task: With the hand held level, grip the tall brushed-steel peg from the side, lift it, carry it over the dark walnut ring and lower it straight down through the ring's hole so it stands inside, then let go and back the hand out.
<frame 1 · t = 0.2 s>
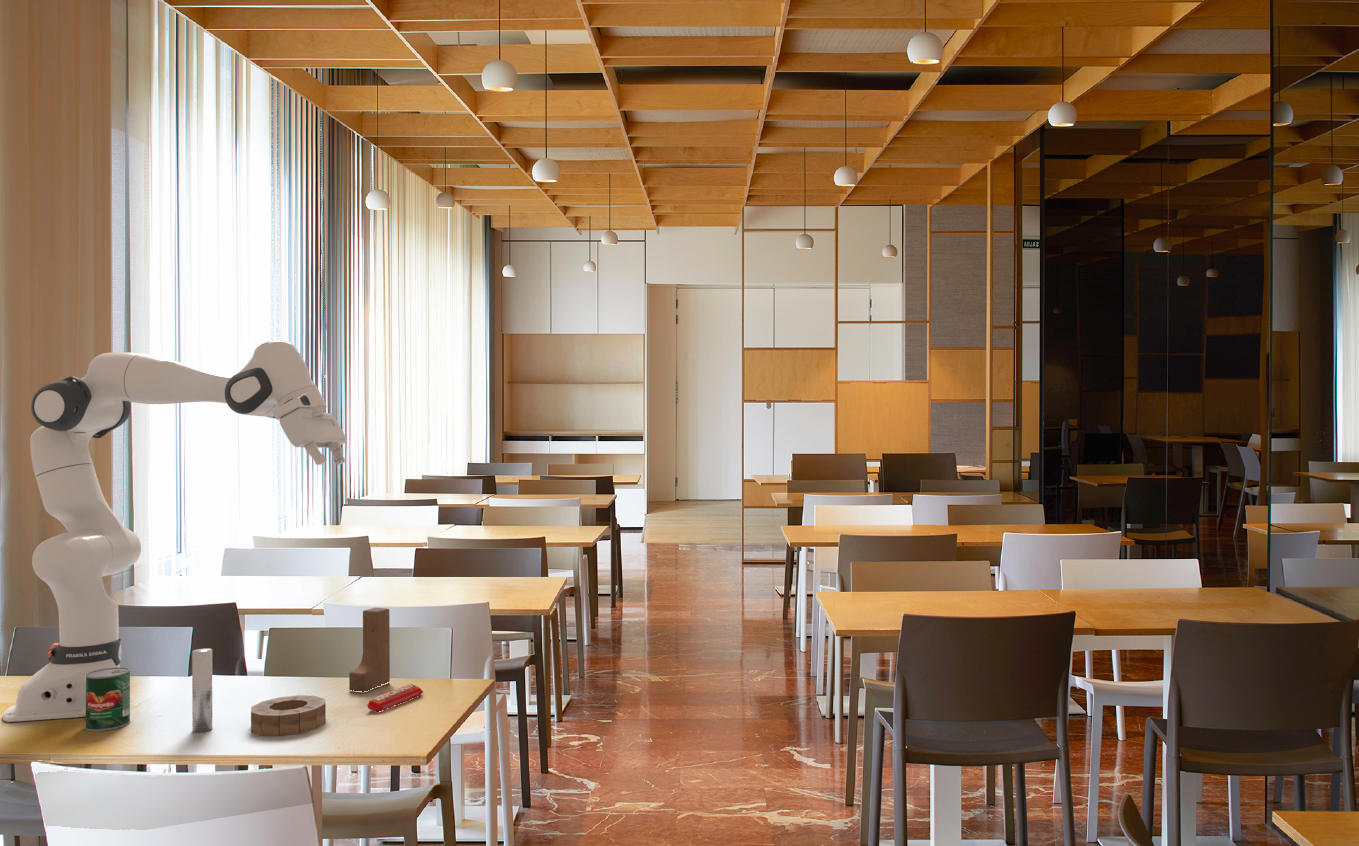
hand: (331, 463, 201), 53 cm above the table, tool tilted 25°, fingers open, 8 cm apart
wooden block: (369, 688, 217), on the table
candy bar: (395, 705, 204), on the table
walnut ring: (288, 724, 189), on the table
steel peg: (202, 729, 186), on the table
canned tomato: (108, 726, 190), on the table
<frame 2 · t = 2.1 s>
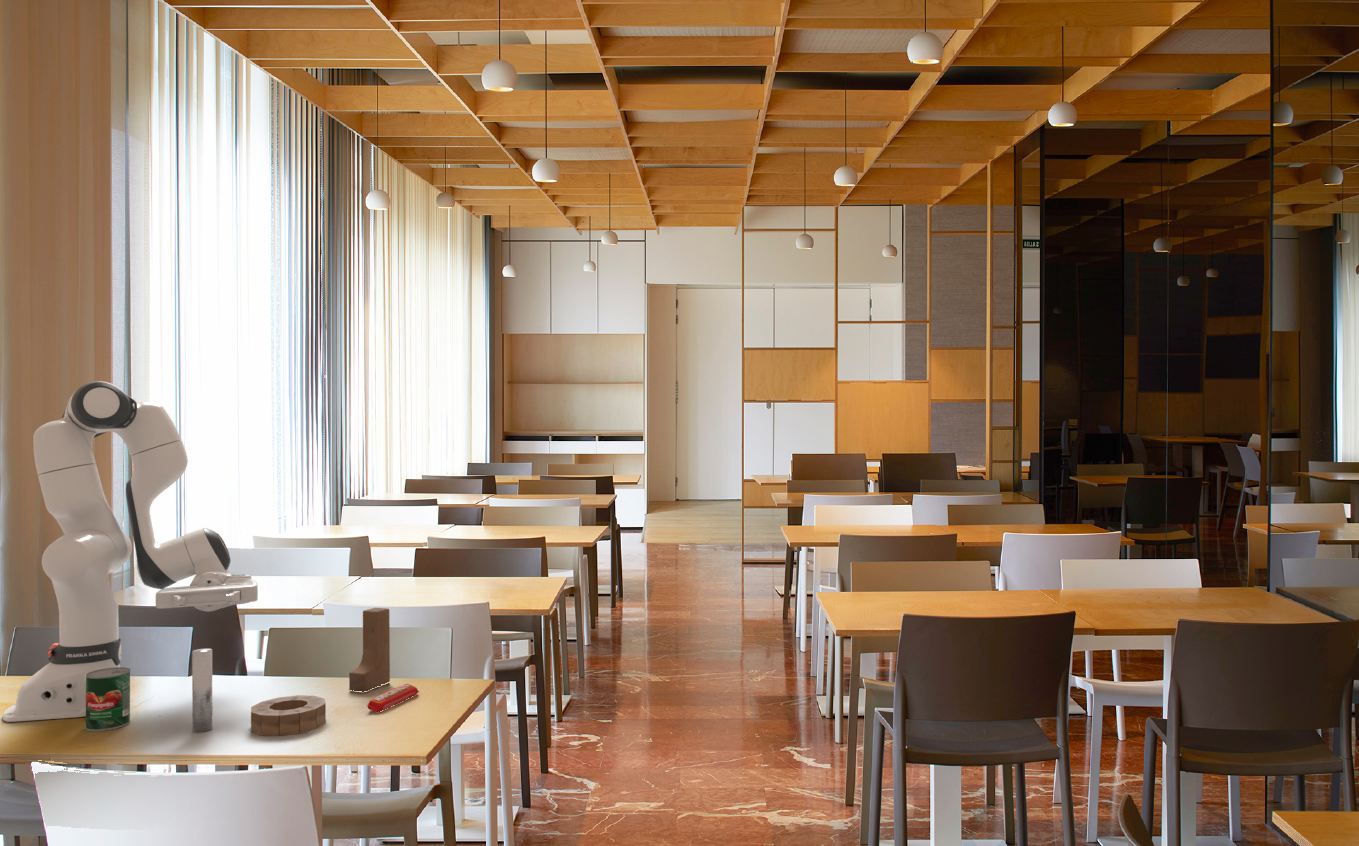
hand: (205, 600, 199), 24 cm above the table, tool horizontal, fingers open, 8 cm apart
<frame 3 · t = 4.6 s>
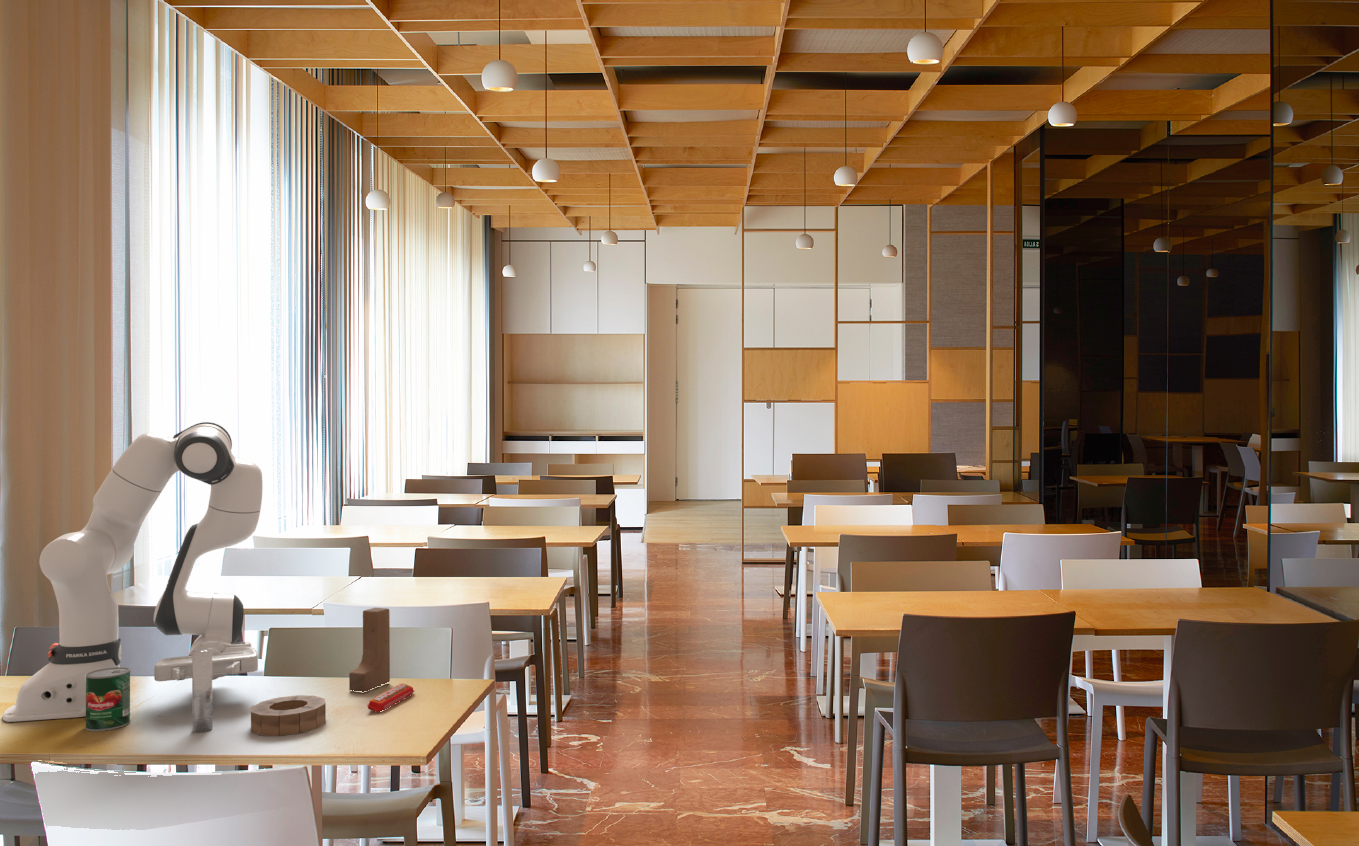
hand: (205, 673, 196), 9 cm above the table, tool horizontal, fingers open, 8 cm apart
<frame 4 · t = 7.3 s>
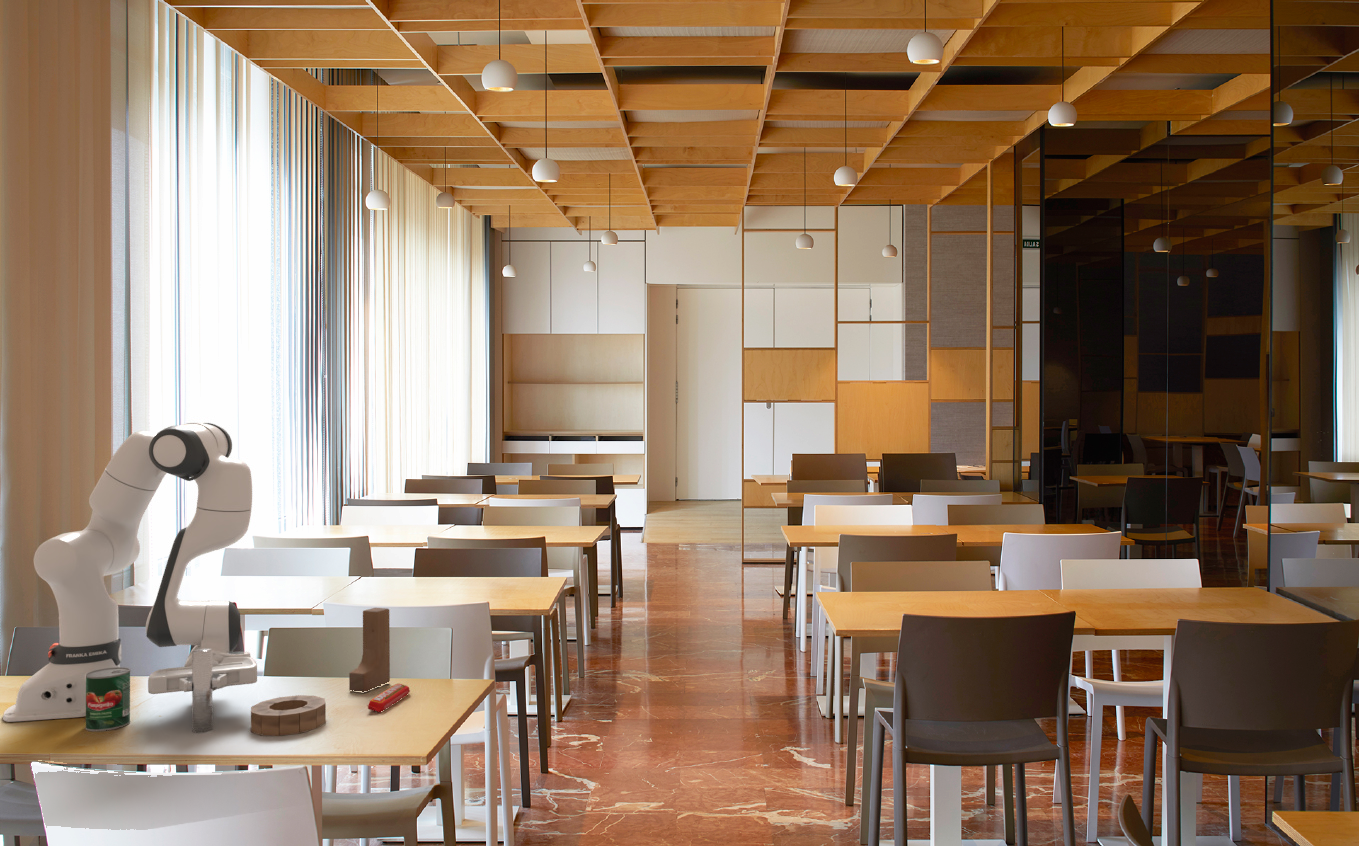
hand: (202, 686, 186), 9 cm above the table, tool horizontal, fingers closed on steel peg, 4 cm apart
steel peg: (202, 729, 186), on the table, touching gripper
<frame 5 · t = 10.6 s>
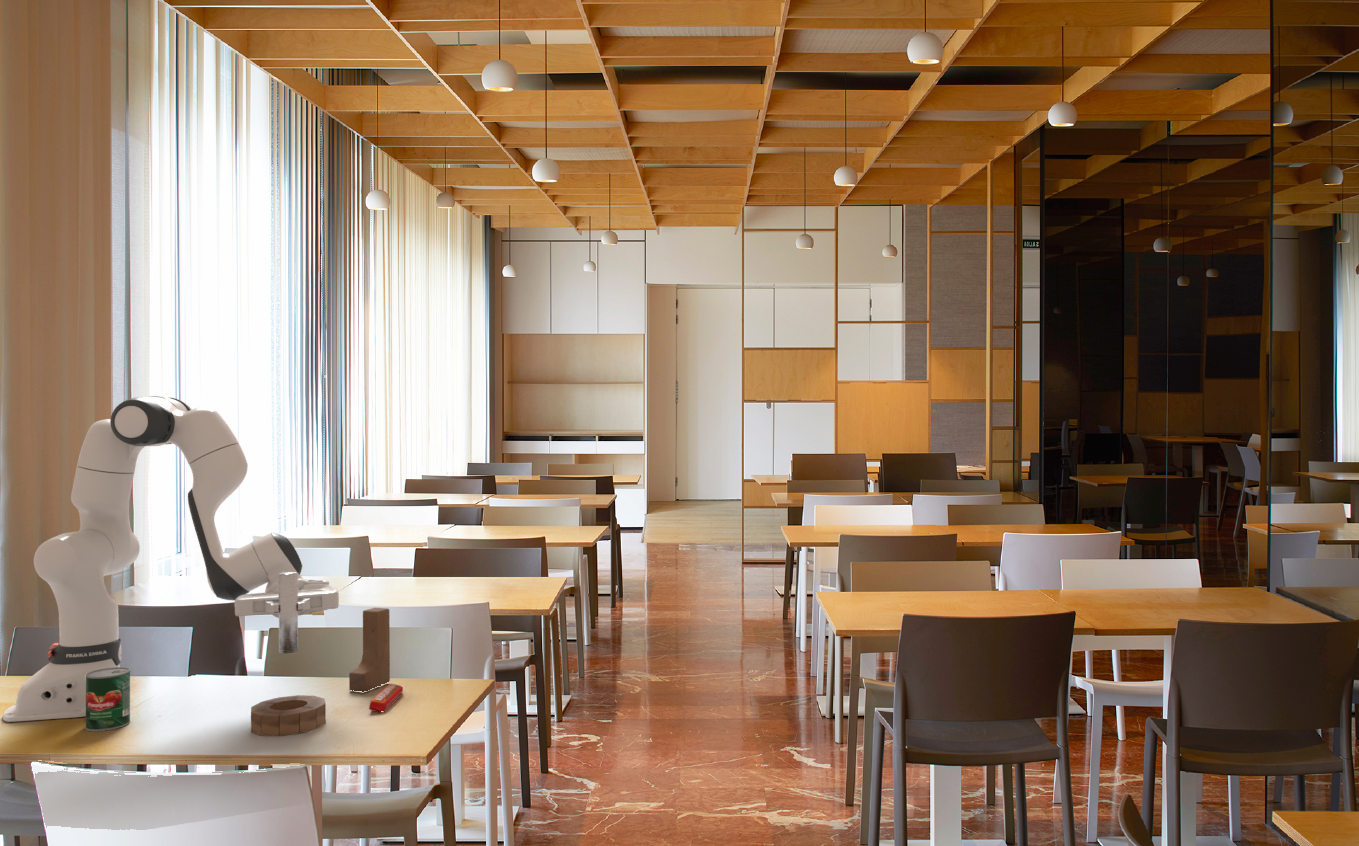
hand: (288, 608, 189), 24 cm above the table, tool horizontal, fingers closed on steel peg, 4 cm apart
steel peg: (288, 651, 189), point 15 cm above the table, touching gripper
when the fingers open (10 cm above the table, at t = 14.1 s): steel peg drops 1 cm, resting in walnut ring.
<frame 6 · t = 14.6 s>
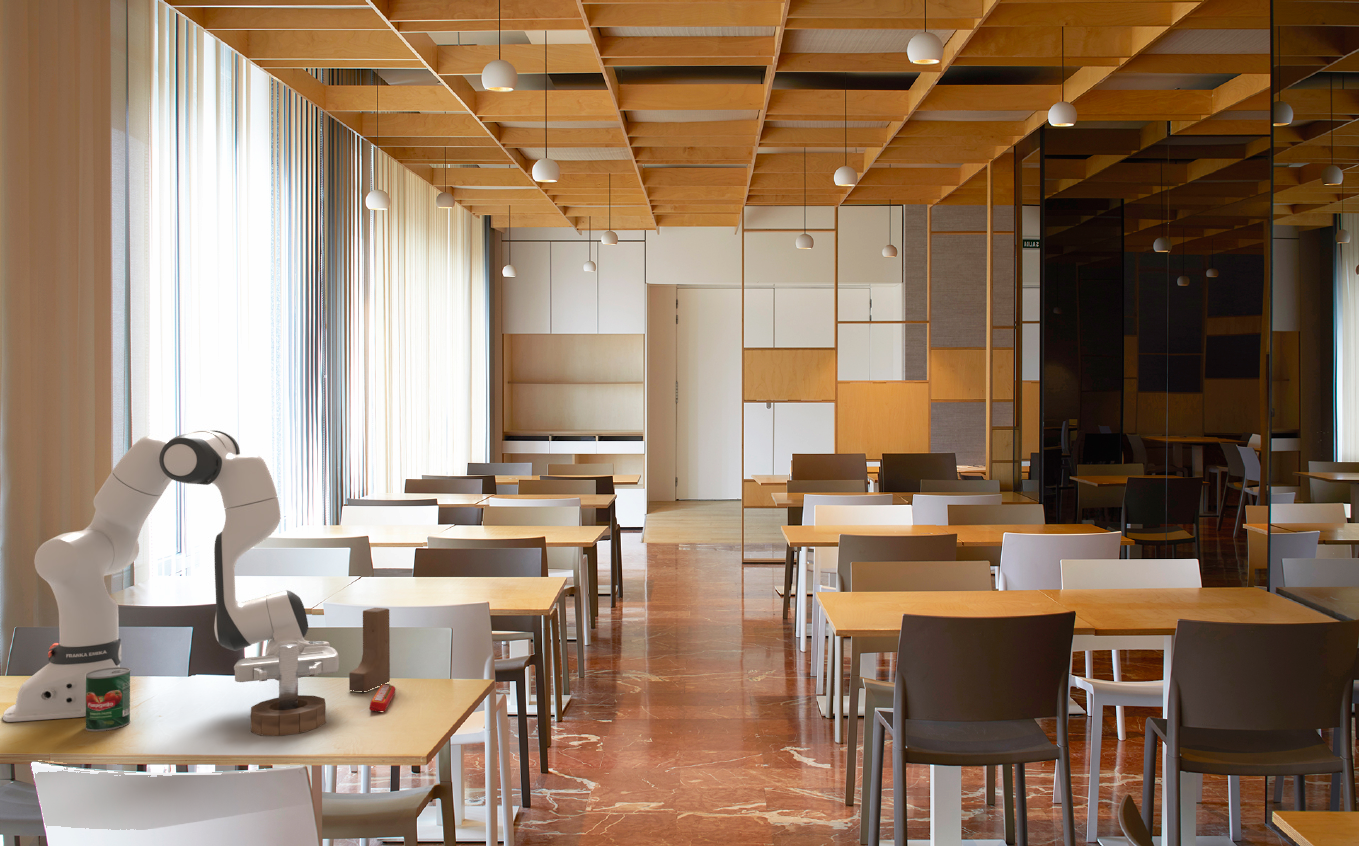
hand: (288, 674, 189), 10 cm above the table, tool horizontal, fingers open, 8 cm apart
steel peg: (288, 724, 189), resting in walnut ring
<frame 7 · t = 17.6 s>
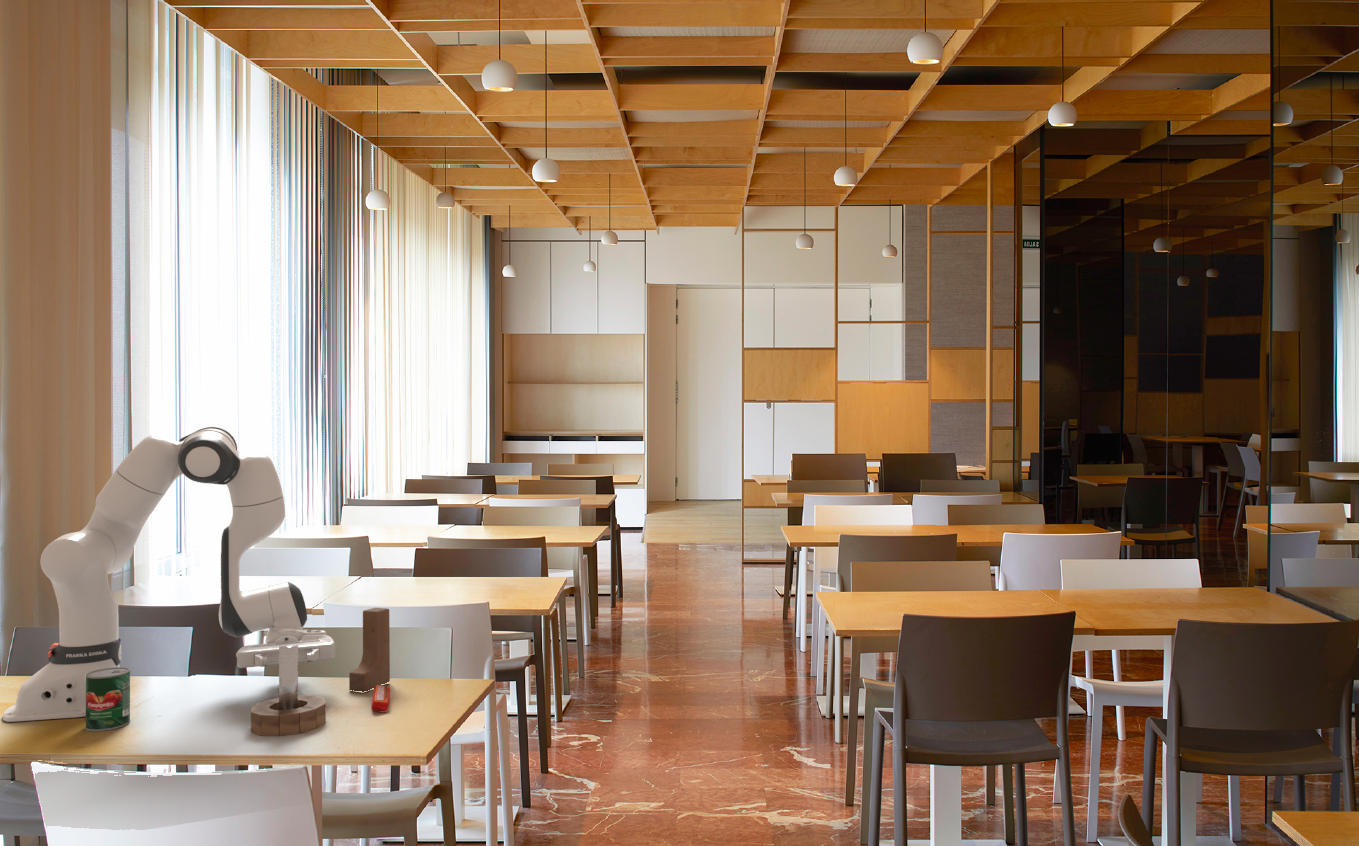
hand: (287, 660, 200), 10 cm above the table, tool horizontal, fingers open, 8 cm apart
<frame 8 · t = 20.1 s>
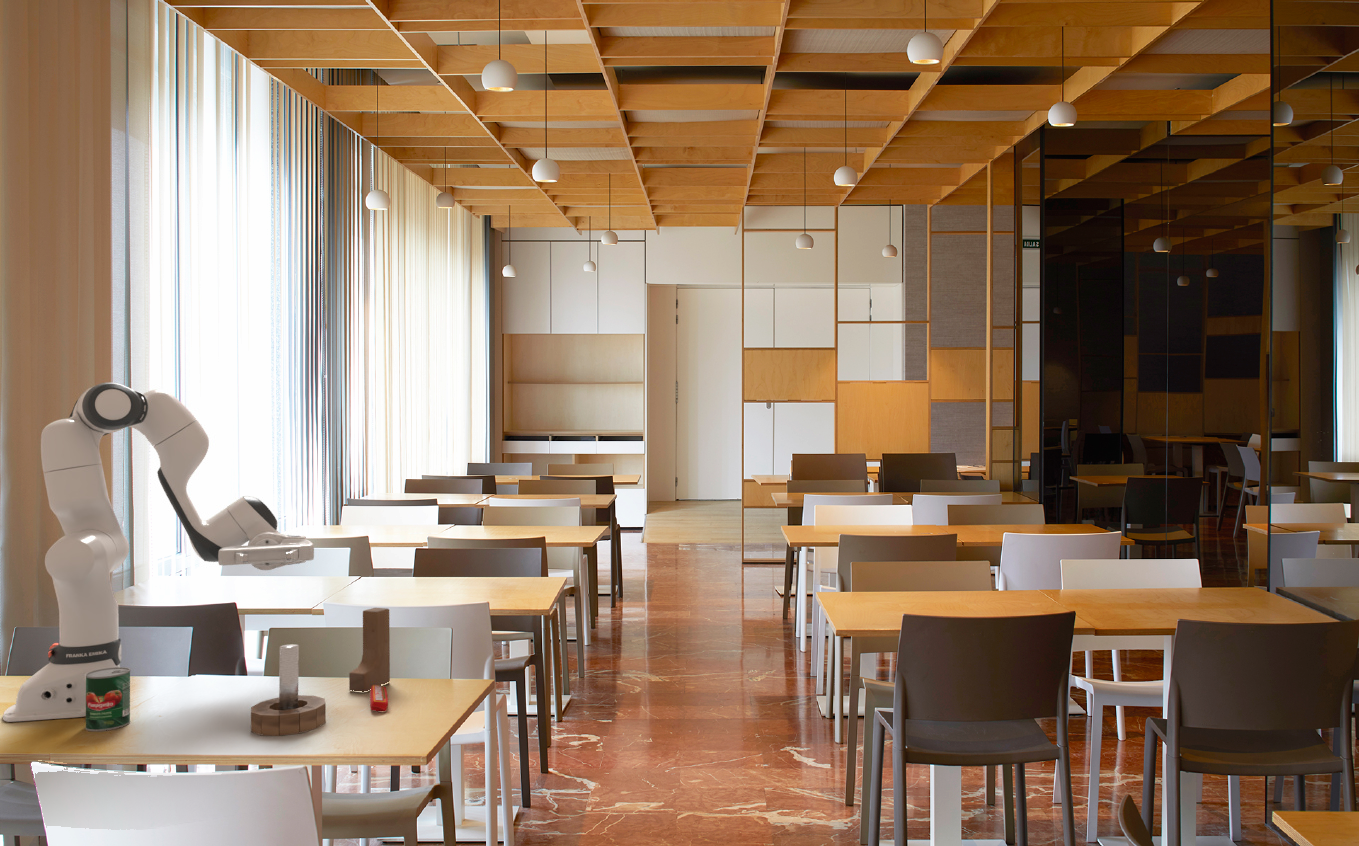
hand: (267, 557, 207), 32 cm above the table, tool horizontal, fingers open, 8 cm apart
at the end: steel peg 0.0 cm off-centre on the walnut ring, point 0.0 cm above the walnut ring's base; steel peg tilted 1°; the gripper is holding nothing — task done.
